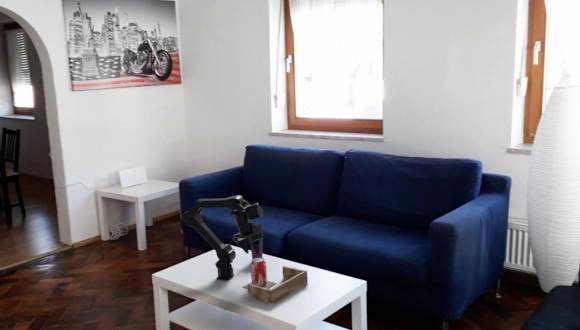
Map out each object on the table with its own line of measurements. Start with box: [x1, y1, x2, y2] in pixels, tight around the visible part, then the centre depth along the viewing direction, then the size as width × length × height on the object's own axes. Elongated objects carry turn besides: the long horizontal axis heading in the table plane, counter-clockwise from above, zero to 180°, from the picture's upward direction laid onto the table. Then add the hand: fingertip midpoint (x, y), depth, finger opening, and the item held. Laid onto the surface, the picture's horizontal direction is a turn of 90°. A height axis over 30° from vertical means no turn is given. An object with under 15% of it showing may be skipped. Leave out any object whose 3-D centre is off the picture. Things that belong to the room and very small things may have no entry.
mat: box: [242, 280, 277, 290], centre depth 250 cm, size 11×11×1 cm
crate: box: [247, 265, 309, 305], centre depth 243 cm, size 13×26×6 cm, turn 144°
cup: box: [250, 238, 263, 260], centre depth 280 cm, size 7×7×15 cm
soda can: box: [250, 257, 268, 287], centre depth 249 cm, size 7×7×12 cm
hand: (252, 253), depth 255 cm, fingers open, 9 cm apart
